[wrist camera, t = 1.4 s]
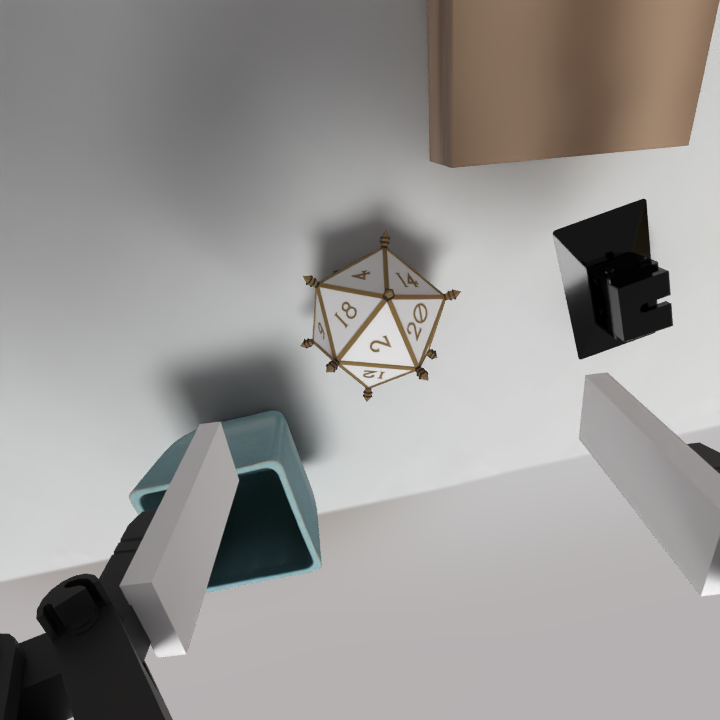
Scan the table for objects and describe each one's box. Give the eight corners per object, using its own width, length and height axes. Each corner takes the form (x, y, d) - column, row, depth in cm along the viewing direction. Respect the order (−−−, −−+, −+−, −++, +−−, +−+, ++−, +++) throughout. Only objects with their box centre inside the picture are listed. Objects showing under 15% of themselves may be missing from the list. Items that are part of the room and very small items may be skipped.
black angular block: (664, 344, 33) (711, 374, 29) (564, 378, 34) (596, 412, 30) (650, 170, 28) (705, 178, 24) (531, 216, 28) (565, 231, 24)
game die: (360, 255, 32) (380, 171, 23) (453, 332, 32) (515, 281, 22) (274, 349, 30) (256, 301, 21) (372, 432, 30) (401, 424, 20)
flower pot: (175, 406, 33) (123, 495, 25) (293, 378, 32) (279, 460, 24) (221, 496, 37) (188, 598, 29) (327, 473, 36) (324, 570, 28)
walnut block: (429, 160, 27) (452, 167, 21) (425, -92, 22) (453, -166, 16) (617, 142, 27) (688, 145, 21) (656, -114, 22) (761, -195, 16)
